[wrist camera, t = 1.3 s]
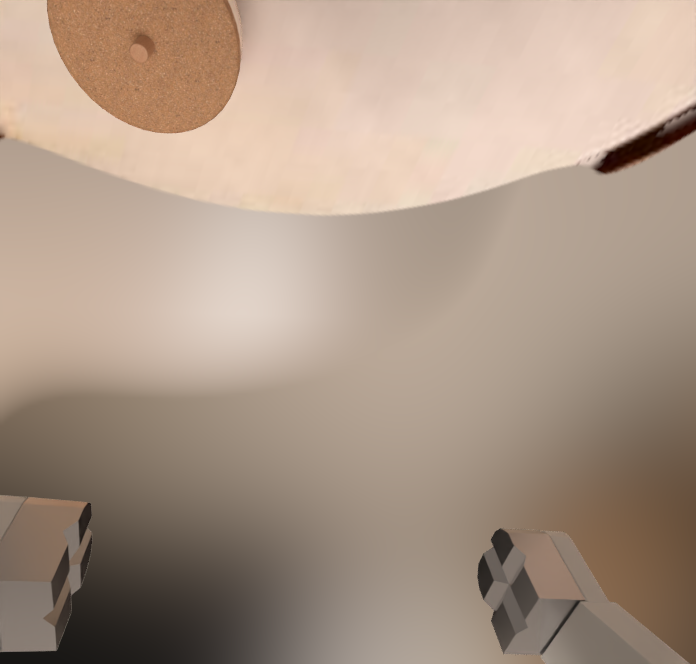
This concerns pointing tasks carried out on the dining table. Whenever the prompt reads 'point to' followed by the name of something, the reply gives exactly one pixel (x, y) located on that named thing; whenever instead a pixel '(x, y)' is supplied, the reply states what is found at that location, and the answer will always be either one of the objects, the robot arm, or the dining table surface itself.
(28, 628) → the robot arm
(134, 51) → the lidded bowl
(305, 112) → the dining table surface
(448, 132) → the dining table surface
